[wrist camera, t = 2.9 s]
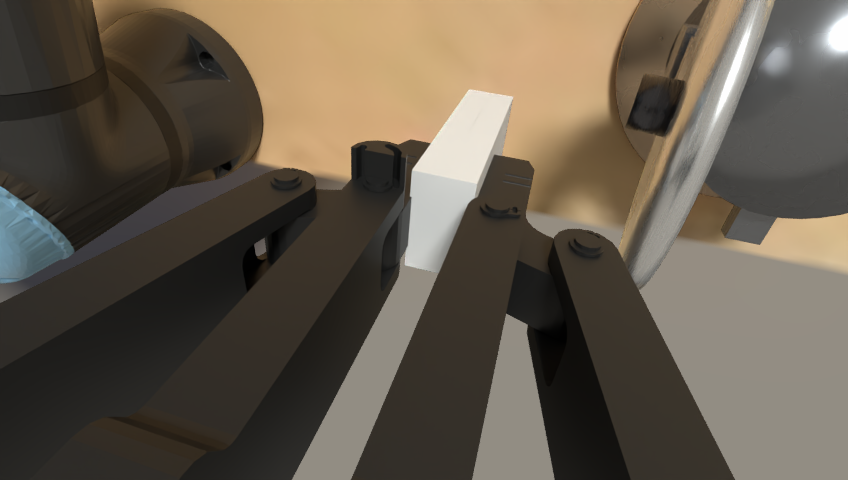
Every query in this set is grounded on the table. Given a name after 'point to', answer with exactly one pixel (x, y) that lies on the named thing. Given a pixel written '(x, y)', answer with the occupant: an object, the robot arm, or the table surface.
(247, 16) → the table surface
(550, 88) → the table surface
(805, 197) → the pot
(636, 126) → the lid
